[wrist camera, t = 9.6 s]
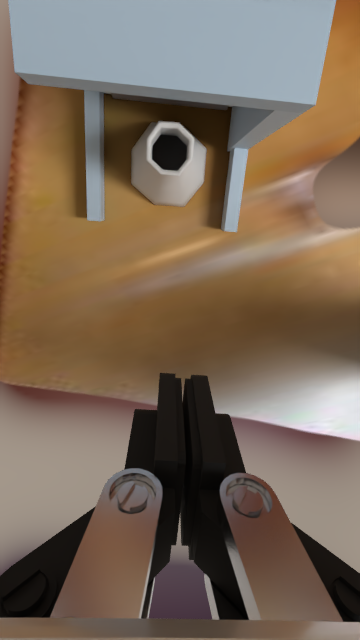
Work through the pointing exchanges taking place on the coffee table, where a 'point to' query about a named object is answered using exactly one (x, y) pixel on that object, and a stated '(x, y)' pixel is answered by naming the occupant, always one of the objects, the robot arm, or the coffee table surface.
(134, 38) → the blue frame
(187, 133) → the flask
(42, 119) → the coffee table surface
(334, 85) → the coffee table surface
